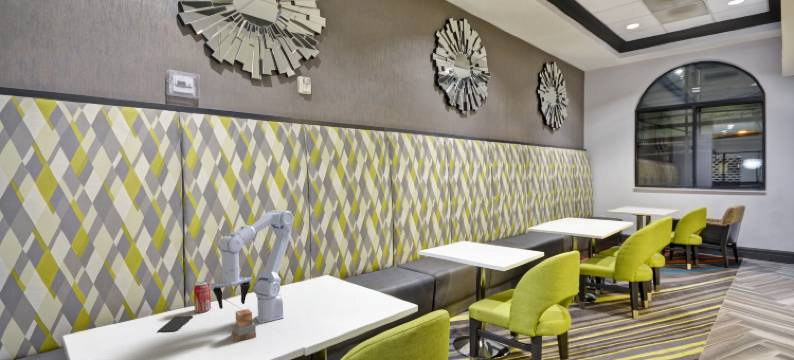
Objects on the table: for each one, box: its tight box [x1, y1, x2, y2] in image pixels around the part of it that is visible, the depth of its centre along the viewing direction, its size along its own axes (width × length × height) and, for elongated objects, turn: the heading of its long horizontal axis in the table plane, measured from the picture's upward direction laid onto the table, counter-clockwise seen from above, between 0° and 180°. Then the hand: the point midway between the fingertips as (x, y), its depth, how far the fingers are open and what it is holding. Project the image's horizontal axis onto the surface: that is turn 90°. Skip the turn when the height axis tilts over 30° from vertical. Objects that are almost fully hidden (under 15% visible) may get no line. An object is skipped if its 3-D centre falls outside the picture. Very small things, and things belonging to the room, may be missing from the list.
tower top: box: [231, 321, 256, 336], centre depth 143 cm, size 6×6×2 cm
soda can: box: [193, 281, 212, 314], centre depth 170 cm, size 6×6×12 cm
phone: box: [157, 315, 194, 333], centre depth 156 cm, size 7×1×15 cm
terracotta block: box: [235, 308, 253, 328], centre depth 143 cm, size 4×4×4 cm
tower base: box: [230, 329, 257, 343], centre depth 143 cm, size 7×7×2 cm
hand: (232, 305), depth 146 cm, fingers open, 7 cm apart
